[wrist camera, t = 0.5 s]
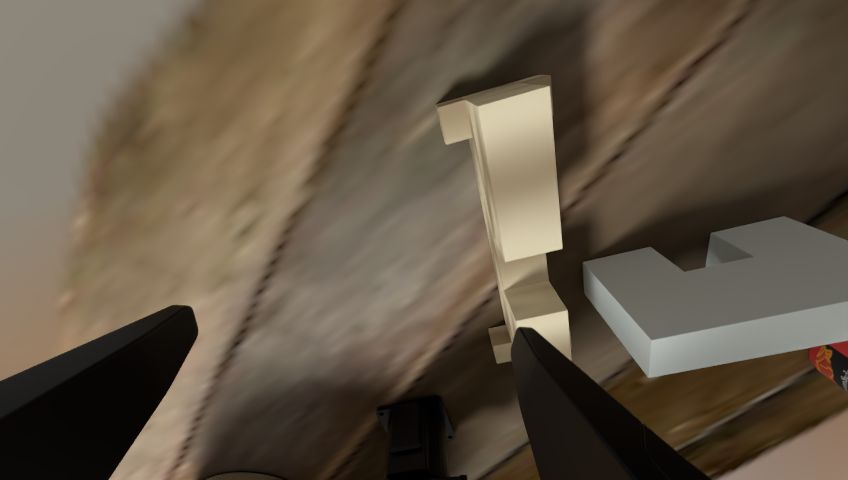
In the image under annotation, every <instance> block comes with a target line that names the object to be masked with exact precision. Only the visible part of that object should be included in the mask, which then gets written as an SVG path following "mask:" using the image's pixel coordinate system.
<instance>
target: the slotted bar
mask: <svg viewBox="0 0 848 480" xmlns="http://www.w3.org/2000/svg"><path fill="white" fill-rule="evenodd" d="M583 280H584V294H585V295H586V296H587V298H588V299H589V300H590V302H591V303H592V304H593V306H594V307H595V308H596V310H597V311H598V312H599V313H600V315H601V316H602V317H603V319H604V320H605V321H606V323H607V324H608V325H609V327H610V328H611V329H612V331H613V332H614V333H615V335H616V336H617V337H618V338H619V340H620V341H621V342H622V344H623V345H624V346H625V348H626V349H627V350H628V352H629V353H630V354H631V356H632V357H633V358H634V360H635V361H636V362H637V363H638V365H639V366H640V367H641V369H642V370H643V371H644V373H645V374H646V375H647V377H648V378H651V377H656V376H662V375H667V374H672V373H678V372H683V371H688V370H694V369H699V368H704V367H710V366H715V365H720V364H726V363H731V362H736V361H742V360H747V359H752V358H758V357H763V356H768V355H774V354H779V353H784V352H790V351H795V350H800V349H806V348H811V347H816V346H822V345H827V344H832V343H838V342H843V341H848V241H847V240H844V239H842V238H839V237H837V236H834V235H832V234H829V233H826V232H824V231H821V230H819V229H816V228H814V227H811V226H808V225H806V224H803V223H801V222H798V221H795V220H793V219H790V218H788V217H785V216H783V217H778V218H774V219H769V220H765V221H761V222H756V223H752V224H747V225H743V226H739V227H734V228H730V229H726V230H721V231H717V232H712V233H711V235H710V241H709V247H708V253H707V260H706V266H705V268H700V269H695V270H691V271H686V272H684V271H683V270H681V269H680V268H679V267H677V266H676V265H674V264H673V263H672V262H670V261H669V260H668V259H666V258H665V257H664V256H662V255H661V254H660V253H658V252H657V251H656V250H654V249H653V248H652V247H647V248H642V249H638V250H633V251H629V252H625V253H620V254H616V255H611V256H607V257H603V258H598V259H594V260H590V261H585V262H583Z"/></svg>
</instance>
